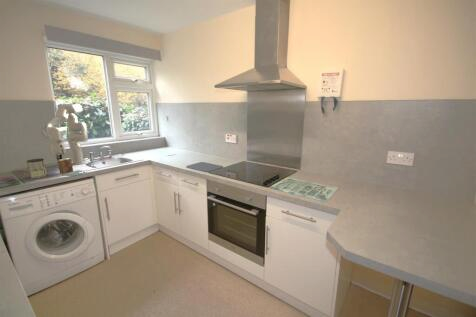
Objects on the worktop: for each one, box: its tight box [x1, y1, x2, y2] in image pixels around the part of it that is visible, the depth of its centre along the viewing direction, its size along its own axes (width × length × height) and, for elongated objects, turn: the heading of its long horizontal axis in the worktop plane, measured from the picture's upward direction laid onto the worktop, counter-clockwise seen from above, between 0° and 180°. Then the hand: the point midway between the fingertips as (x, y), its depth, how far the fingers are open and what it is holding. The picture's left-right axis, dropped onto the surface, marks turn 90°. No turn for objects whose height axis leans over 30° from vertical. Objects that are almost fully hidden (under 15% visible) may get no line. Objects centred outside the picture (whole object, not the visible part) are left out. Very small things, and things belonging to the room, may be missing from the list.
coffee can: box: [26, 158, 48, 179], centre depth 179 cm, size 10×10×14 cm
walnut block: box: [56, 157, 74, 175], centre depth 189 cm, size 8×5×12 cm, turn 165°
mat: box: [61, 169, 85, 177], centre depth 188 cm, size 14×14×1 cm
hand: (60, 162), depth 190 cm, fingers closed
